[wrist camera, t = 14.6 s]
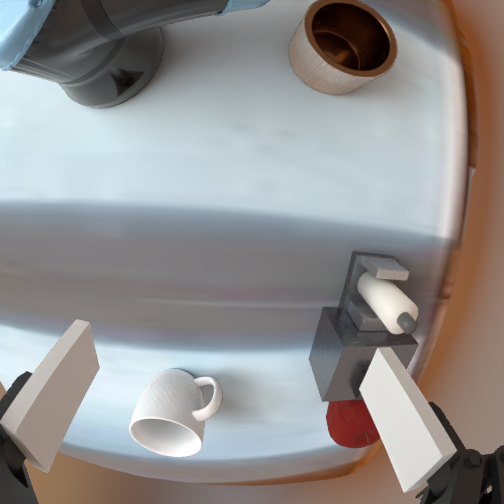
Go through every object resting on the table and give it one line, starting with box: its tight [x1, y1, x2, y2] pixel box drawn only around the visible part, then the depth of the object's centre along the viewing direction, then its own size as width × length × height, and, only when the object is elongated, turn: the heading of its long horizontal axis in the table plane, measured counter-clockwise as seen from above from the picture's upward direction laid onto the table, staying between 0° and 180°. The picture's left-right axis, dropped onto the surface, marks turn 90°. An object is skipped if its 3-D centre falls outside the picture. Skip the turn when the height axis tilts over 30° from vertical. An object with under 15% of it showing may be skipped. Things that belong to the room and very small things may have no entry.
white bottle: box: [357, 271, 418, 334], centre depth 33 cm, size 4×4×12 cm
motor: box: [309, 251, 419, 402], centre depth 37 cm, size 22×12×12 cm, turn 173°
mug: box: [130, 369, 222, 457], centre depth 39 cm, size 15×11×13 cm
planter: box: [289, 0, 397, 95], centre depth 26 cm, size 11×11×10 cm
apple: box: [326, 399, 380, 448], centre depth 42 cm, size 12×12×13 cm
